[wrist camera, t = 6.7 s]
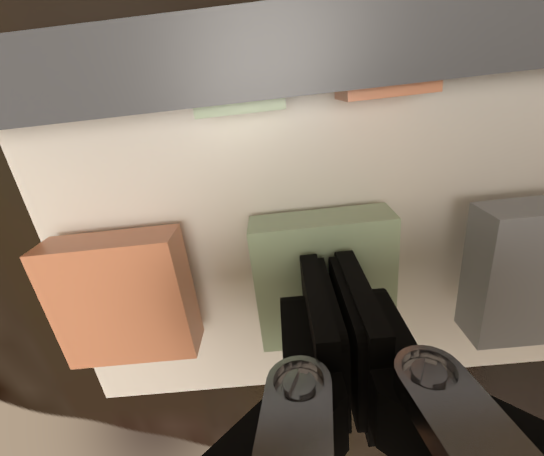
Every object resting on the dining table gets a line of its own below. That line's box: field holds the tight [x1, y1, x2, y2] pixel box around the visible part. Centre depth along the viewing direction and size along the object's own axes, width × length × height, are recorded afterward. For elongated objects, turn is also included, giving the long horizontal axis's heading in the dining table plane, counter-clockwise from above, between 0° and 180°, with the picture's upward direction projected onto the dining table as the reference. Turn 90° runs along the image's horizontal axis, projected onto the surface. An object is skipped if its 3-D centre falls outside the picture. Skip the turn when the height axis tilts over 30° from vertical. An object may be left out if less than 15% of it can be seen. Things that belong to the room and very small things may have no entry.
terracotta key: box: [20, 223, 204, 369], centre depth 12 cm, size 5×5×2 cm
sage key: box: [246, 202, 401, 352], centre depth 12 cm, size 5×5×2 cm
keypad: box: [0, 0, 544, 398], centre depth 12 cm, size 20×14×5 cm
